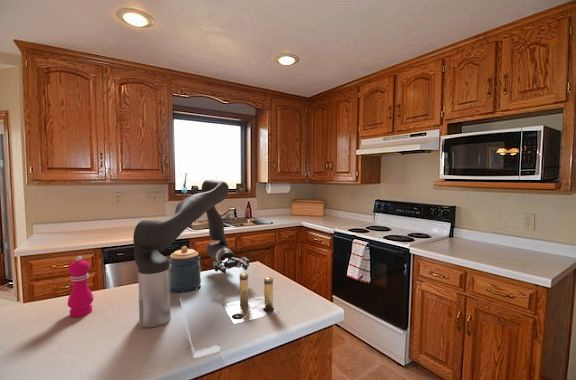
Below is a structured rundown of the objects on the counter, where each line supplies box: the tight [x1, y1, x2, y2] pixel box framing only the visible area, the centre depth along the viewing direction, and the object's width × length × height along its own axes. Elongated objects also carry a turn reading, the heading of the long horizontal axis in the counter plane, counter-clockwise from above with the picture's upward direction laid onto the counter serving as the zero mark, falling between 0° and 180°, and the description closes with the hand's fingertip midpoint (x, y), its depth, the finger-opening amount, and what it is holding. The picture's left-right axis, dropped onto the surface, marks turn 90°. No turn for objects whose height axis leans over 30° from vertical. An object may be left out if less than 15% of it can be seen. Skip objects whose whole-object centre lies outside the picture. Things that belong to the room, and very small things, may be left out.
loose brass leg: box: [239, 272, 249, 306], centre depth 102 cm, size 3×3×11 cm
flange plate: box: [222, 295, 281, 325], centre depth 99 cm, size 16×15×1 cm
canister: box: [169, 245, 202, 294], centre depth 120 cm, size 13×13×18 cm
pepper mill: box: [67, 255, 94, 318], centre depth 97 cm, size 7×7×20 cm
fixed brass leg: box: [263, 276, 274, 311], centre depth 98 cm, size 3×3×11 cm
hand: (235, 269), depth 112 cm, fingers open, 8 cm apart
